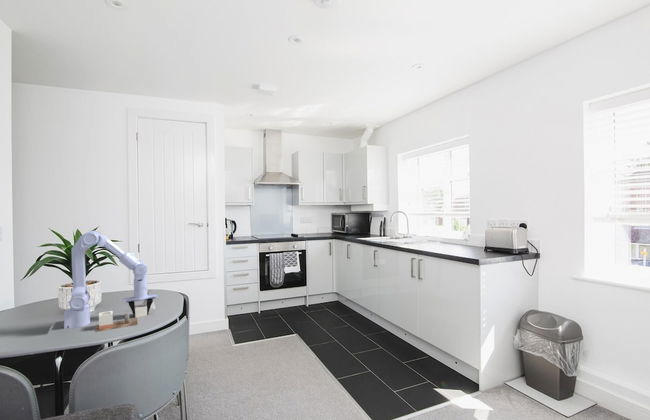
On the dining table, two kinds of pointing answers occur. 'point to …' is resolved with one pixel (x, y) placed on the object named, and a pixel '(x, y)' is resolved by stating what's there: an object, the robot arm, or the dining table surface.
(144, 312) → the sleeve
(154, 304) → the flask
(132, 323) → the pin board
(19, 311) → the dining table surface
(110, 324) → the seated sleeve
